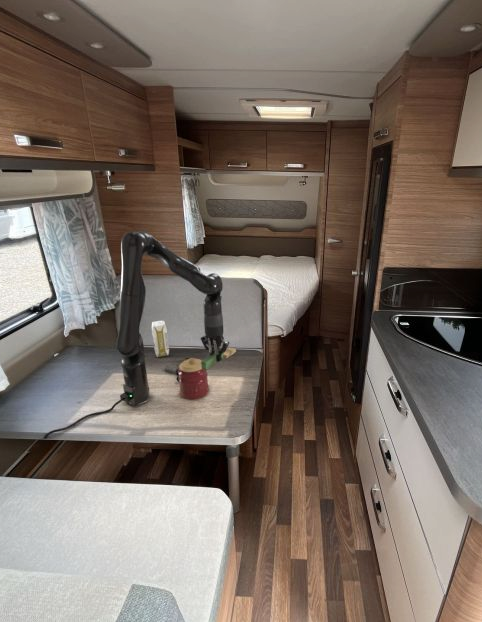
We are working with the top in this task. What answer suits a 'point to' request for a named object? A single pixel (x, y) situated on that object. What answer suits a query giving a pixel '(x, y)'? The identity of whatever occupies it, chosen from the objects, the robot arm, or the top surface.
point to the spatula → (212, 358)
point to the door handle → (174, 370)
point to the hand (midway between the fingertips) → (216, 360)
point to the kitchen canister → (192, 379)
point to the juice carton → (160, 338)
